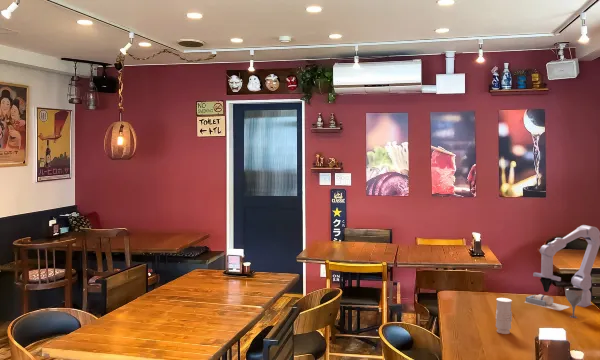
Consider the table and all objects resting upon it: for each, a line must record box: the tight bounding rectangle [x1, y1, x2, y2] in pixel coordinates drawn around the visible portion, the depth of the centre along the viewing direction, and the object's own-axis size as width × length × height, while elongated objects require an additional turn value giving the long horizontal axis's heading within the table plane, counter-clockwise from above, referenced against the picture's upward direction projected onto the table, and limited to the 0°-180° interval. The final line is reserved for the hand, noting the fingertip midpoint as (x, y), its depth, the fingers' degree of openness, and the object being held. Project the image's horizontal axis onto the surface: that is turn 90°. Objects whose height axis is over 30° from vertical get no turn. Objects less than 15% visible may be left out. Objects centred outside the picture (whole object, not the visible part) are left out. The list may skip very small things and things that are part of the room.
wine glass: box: [564, 286, 583, 319], centre depth 261 cm, size 8×8×15 cm
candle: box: [495, 297, 513, 335], centre depth 240 cm, size 7×7×15 cm
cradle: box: [524, 294, 570, 312], centre depth 284 cm, size 12×20×3 cm, turn 37°
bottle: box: [533, 293, 554, 305], centre depth 286 cm, size 5×5×10 cm
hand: (546, 291), depth 284 cm, fingers closed
